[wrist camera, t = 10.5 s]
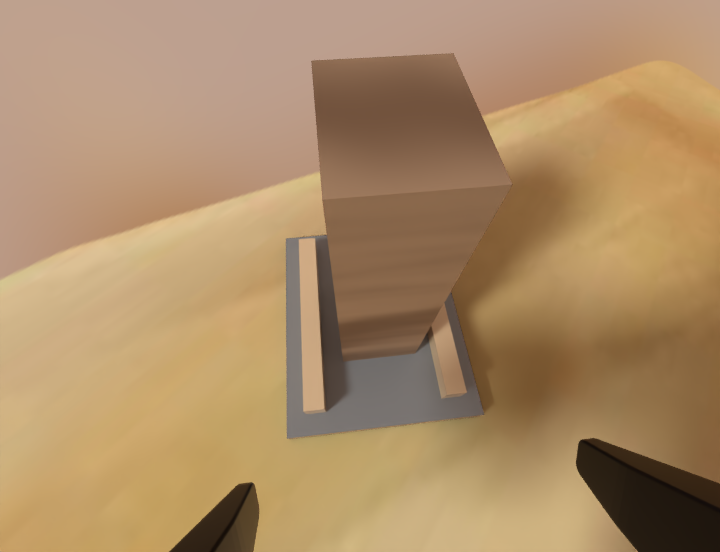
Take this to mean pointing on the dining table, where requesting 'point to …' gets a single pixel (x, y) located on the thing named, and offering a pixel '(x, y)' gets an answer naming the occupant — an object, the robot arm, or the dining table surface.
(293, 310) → the grey stand base
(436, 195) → the wooden block
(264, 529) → the dining table surface
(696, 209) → the dining table surface
